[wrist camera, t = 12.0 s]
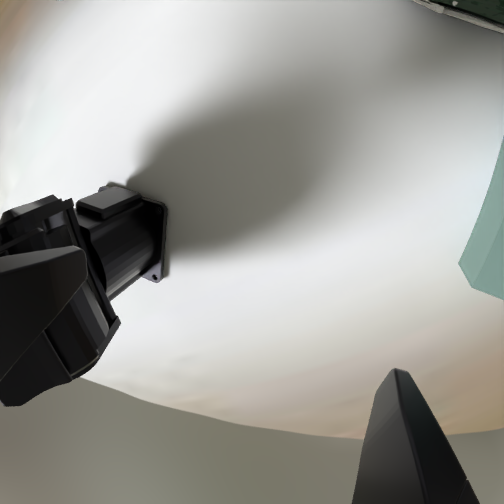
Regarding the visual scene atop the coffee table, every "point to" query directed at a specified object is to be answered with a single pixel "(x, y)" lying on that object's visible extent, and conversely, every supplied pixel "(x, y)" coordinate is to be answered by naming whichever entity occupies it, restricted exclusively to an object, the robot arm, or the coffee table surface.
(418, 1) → the miniature car
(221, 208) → the coffee table surface
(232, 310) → the coffee table surface
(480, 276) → the shaft pedestal
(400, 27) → the coffee table surface
